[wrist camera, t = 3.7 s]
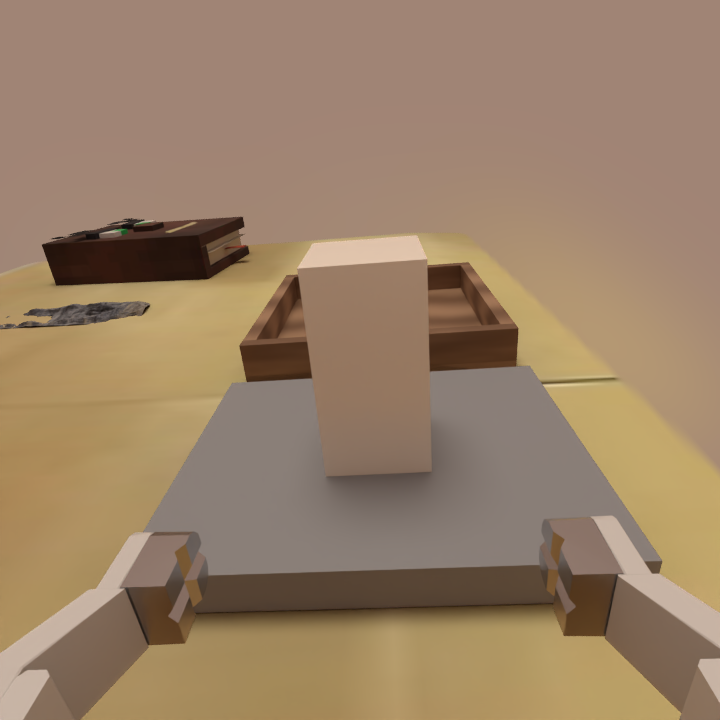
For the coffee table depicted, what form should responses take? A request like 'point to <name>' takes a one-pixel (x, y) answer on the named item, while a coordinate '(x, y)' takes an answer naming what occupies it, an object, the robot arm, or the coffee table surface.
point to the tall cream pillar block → (369, 353)
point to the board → (386, 501)
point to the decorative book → (146, 251)
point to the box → (446, 328)
